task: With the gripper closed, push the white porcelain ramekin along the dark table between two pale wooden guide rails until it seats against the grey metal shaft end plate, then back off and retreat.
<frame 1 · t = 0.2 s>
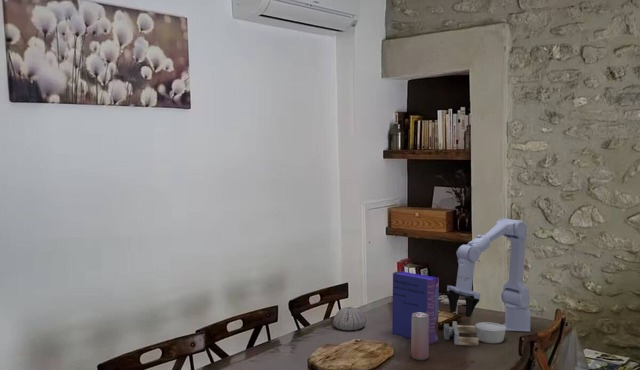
hand: (460, 314, 227), 10 cm above the table, tool pointing down, fingers open, 7 cm apart
shaft end: (450, 331, 232), on the table
beverage can: (419, 358, 211), on the table
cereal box: (414, 337, 233), on the table
pipe connector: (455, 314, 265), on the table
sea urchin shell: (349, 327, 246), on the table
ramekin: (490, 340, 230), on the table
guide rails: (468, 338, 232), on the table
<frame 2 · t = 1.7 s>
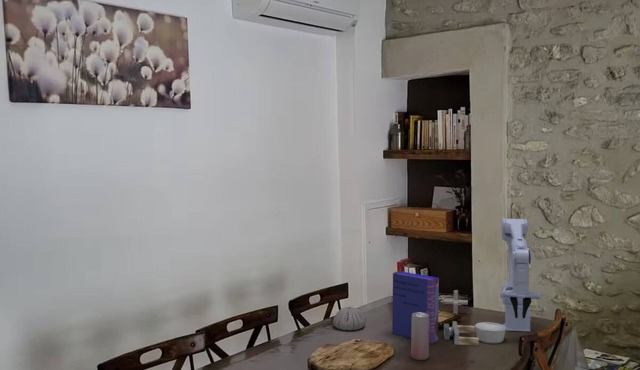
hand: (519, 317, 228), 9 cm above the table, tool pointing down, fingers closed
nothing on the table moved.
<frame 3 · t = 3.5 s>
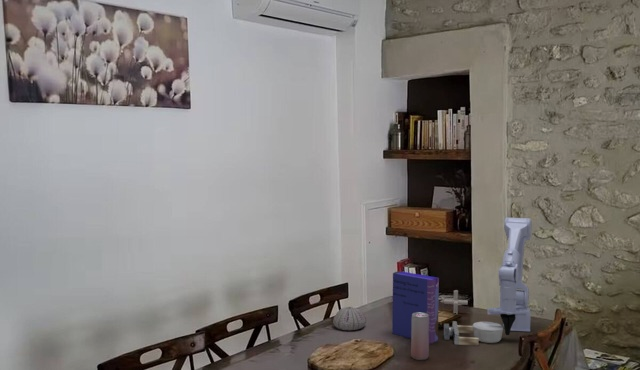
hand: (507, 334, 229), 2 cm above the table, tool pointing down, fingers closed
ramekin: (487, 339, 230), on the table, touching gripper
everything else where it was.
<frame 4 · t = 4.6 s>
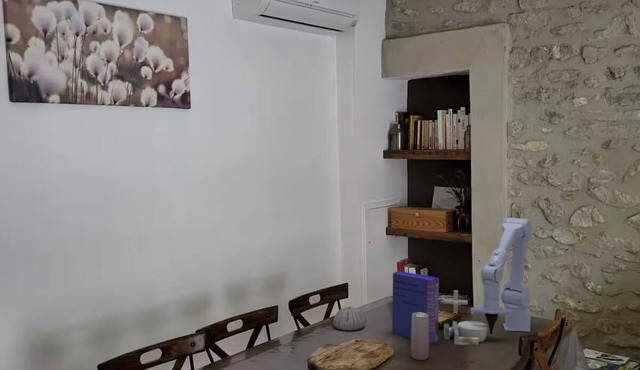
hand: (490, 333, 230), 2 cm above the table, tool pointing down, fingers closed
ramekin: (472, 339, 231), on the table, touching gripper, shaft end
everything else where it was.
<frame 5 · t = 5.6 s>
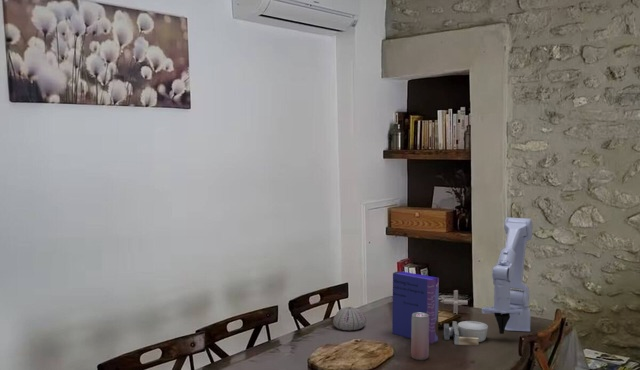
hand: (501, 332, 229), 3 cm above the table, tool pointing down, fingers closed
ramekin: (472, 339, 231), on the table, touching shaft end
everything else where it was.
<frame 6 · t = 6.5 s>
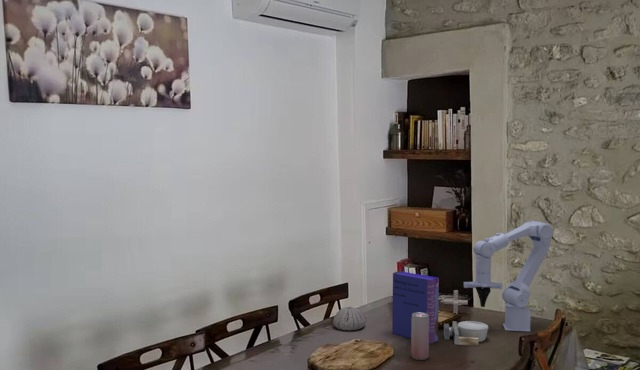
hand: (482, 306, 240), 10 cm above the table, tool pointing down, fingers closed
nothing on the table moved.
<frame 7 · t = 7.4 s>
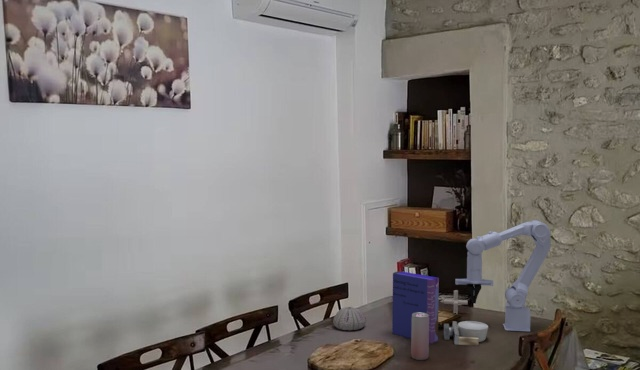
hand: (473, 302, 245), 10 cm above the table, tool pointing down, fingers closed
nothing on the table moved.
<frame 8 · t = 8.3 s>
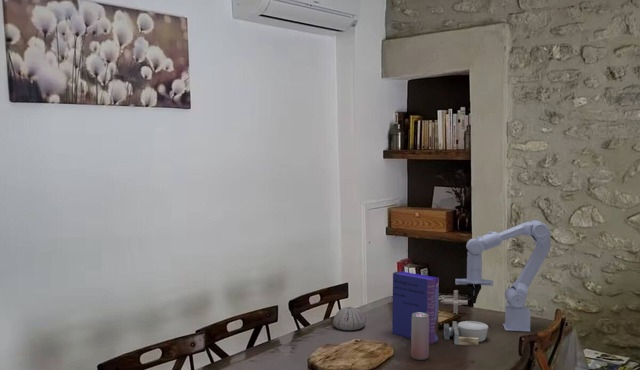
hand: (473, 302, 245), 10 cm above the table, tool pointing down, fingers closed
nothing on the table moved.
at the end: ramekin 0.4 cm from the target spot, on the table; ramekin tilted 0°; ramekin moved 6.4 cm from its start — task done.
